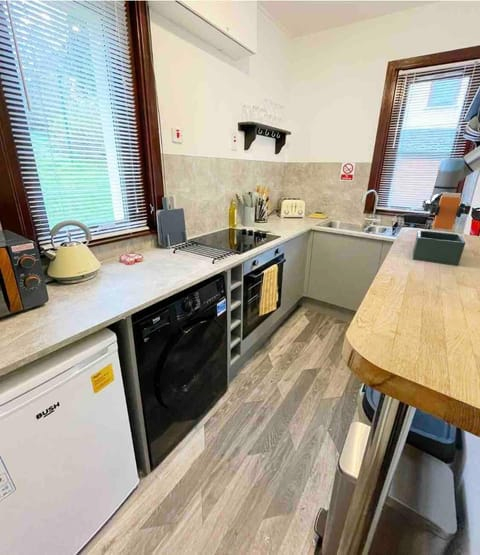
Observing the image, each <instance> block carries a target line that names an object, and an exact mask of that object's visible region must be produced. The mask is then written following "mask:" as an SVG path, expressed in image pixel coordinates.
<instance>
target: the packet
mask: <svg viewBox="0 0 480 555" xmlns="http://www.w3.org/2000/svg"><path fill="white" fill-rule="evenodd" d="M461 195H462V193H461V192H460V193H459V192H456V193H443V195H442V196H441V198H440V202H439V205H440V210H439V213H438V216H435V215H434V220H433V224H432V228H433V229H437V230H449V231H452V230H453V227H454V224H455V220H456V217H457V216H456V214H457V211H458V207H459V204H461V202H462V201H461V200H462V197H461Z"/></svg>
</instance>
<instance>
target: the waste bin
mask: <svg viewBox="0 0 480 555" xmlns="http://www.w3.org/2000/svg"><path fill="white" fill-rule="evenodd" d="M414 241H415V242H414V245H413V248H412V260H415V261H421V262H427V263H429V262H430V263H435V264H443V265H449V266H457V267H458V266H459V264H460V261H461V258H462V255H463V252H464V250H465V246H466V241H465V240H464V237H463V236H462V234H460V233H451V232H441V231H430V230H420V229H418V230H417V233H416V236H415V240H414Z"/></svg>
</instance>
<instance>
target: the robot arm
mask: <svg viewBox="0 0 480 555" xmlns="http://www.w3.org/2000/svg"><path fill="white" fill-rule="evenodd" d="M479 169H480V145H479V146H477V147H475V148H474V149H472V150H471V151H470V152H468V153H467V154H465V155H464V156H463V157H449V158H448V157H447V158H446V157H445V158H442V159H441V161H440V163H439V166H438V170H437V175H436V178H435V181H434V186H433V190H432V193H431V196H430V199H429V200H427V199H424V200H423V201H422V205H421V207H422V208H423V211H424V212H429V215H434V217H435V216H438V213H439V210H440V205H439V202H440V198H441V196H442V195H443V193H457V190H458V185H459V182H461V181H463V180H464V179H465V178H466V177H468V176H469V175H471V174H473V173H474V172H476V171H478V170H479ZM471 208H472V206H471V205H470V202H462V203H460V204H459V207H458V211H457V214H456V217H457V218H461V216H462V215H469V214H470V211H471Z"/></svg>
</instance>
